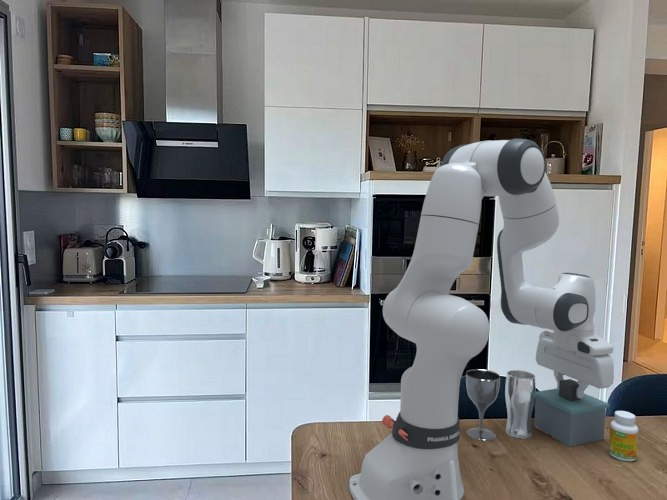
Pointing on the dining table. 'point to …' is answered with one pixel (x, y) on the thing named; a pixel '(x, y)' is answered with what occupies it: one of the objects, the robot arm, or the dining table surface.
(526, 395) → the beer glass
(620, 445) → the supplement bottle
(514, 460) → the dining table surface
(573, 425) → the storage box
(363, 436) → the dining table surface
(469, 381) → the wine glass
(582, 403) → the lid
